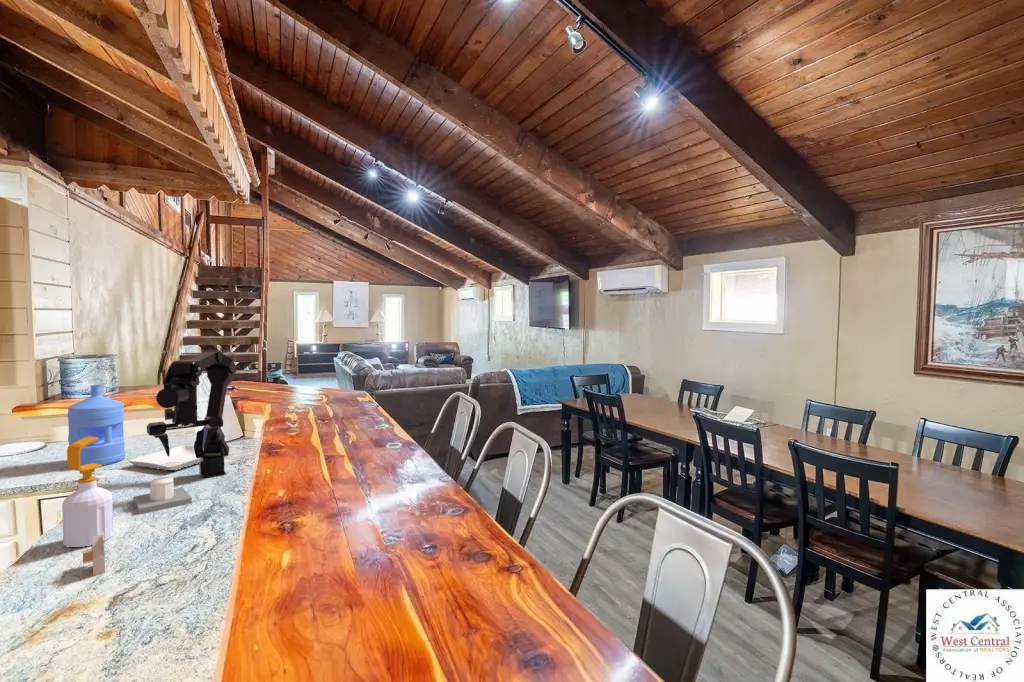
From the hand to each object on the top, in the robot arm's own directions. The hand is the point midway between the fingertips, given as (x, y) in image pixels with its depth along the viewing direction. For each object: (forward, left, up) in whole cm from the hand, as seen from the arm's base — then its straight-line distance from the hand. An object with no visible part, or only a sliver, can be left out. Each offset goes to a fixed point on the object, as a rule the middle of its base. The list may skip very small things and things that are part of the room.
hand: (186, 453), depth 149 cm
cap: (+7, +5, -10) cm, 14 cm away
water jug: (+17, -57, -12) cm, 61 cm away
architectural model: (+24, +41, -13) cm, 49 cm away
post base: (+7, +5, -12) cm, 15 cm away
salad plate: (-4, -37, -13) cm, 39 cm away
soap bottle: (+24, +22, -12) cm, 35 cm away
